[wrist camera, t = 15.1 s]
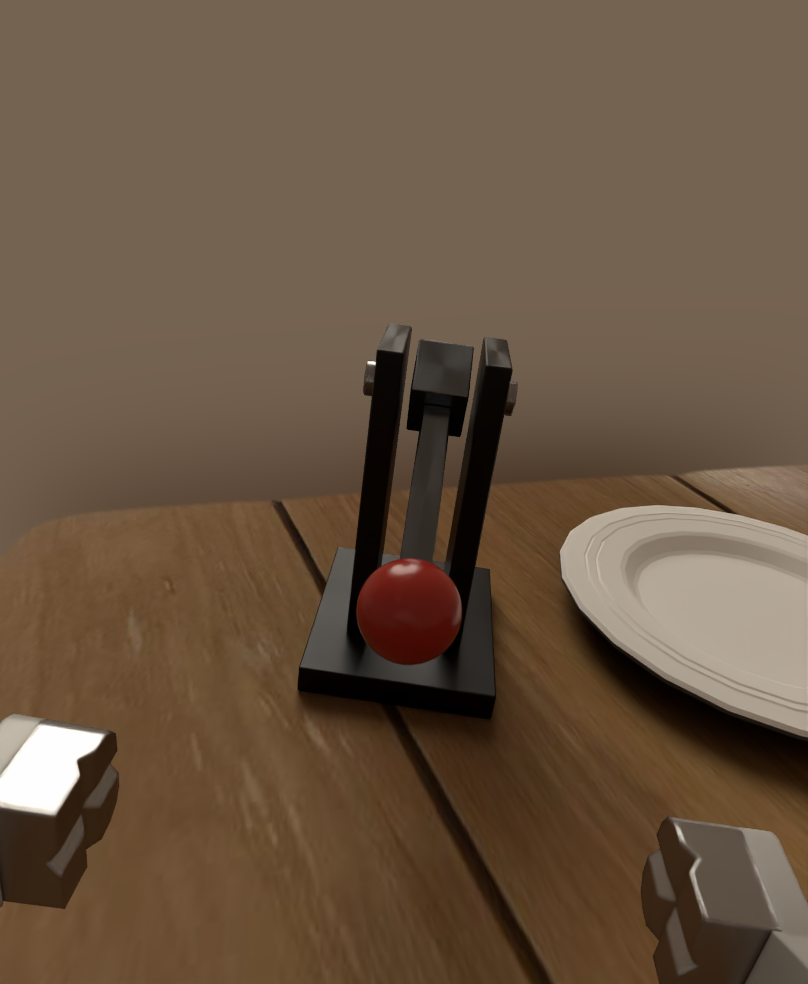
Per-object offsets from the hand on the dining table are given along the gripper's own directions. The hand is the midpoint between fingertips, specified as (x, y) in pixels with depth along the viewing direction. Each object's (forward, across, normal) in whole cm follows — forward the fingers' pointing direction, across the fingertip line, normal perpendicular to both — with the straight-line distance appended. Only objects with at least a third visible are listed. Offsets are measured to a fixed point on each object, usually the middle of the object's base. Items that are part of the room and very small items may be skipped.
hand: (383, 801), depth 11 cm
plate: (+26, -18, +12) cm, 34 cm away
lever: (+17, 0, +4) cm, 18 cm away
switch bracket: (+21, 0, +12) cm, 24 cm away
